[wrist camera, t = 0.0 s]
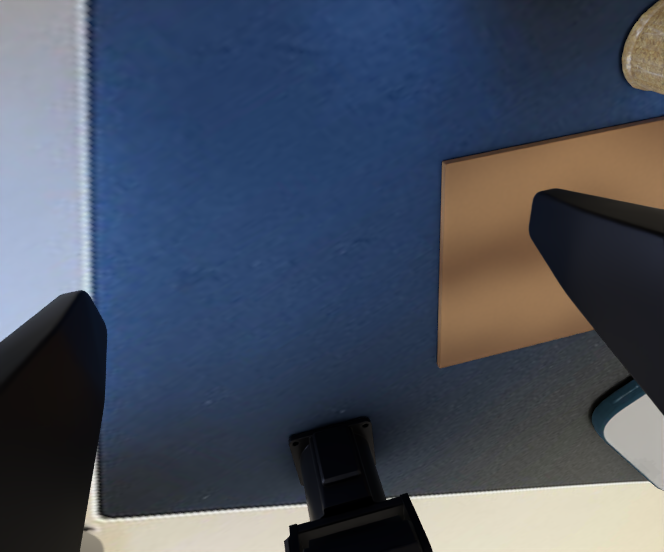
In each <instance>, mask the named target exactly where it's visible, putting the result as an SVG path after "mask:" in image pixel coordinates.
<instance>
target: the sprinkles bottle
mask: <svg viewBox="0 0 664 552" xmlns="http://www.w3.org/2000/svg"><path fill="white" fill-rule="evenodd" d="M622 69H623V73H624V75H625V78H626V79H627V81H628V83H630V84H631V86H632V87H634V88H638V89H641V90H646V91H654V92H657V93H660V94H663V95H664V0H660V1H658V2H656V3H655V4H654V5H653V6H652V7H651V8H649V9H648V10H647V12H645V13H644V14H643V15H642V16H641V17H640V19H639V20H638V22H636V23H635V25H634V27H633V28H632V30H631V32H630V33H629V36H628V38H627V40H626V43H625V46H624V51H623V54H622Z"/></svg>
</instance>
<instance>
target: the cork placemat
mask: <svg viewBox="0 0 664 552" xmlns="http://www.w3.org/2000/svg"><path fill="white" fill-rule="evenodd" d="M553 188H559V189H564V190H569V191H574V192H579V193H584V194H589V195H594V196H599V197H604V198H609V199H614V200H619V201H624V202H629V203H634V204H639V205H644V206H649V207H654V208H659V209H664V116H662V117H657V118H652V119H647V120H643V121H638V122H633V123H628V124H623V125H618V126H613V127H608V128H603V129H598V130H594V131H589V132H584V133H579V134H574V135H569V136H564V137H559V138H554V139H549V140H544V141H540V142H535V143H530V144H525V145H520V146H515V147H510V148H505V149H500V150H495V151H490V152H486V153H481V154H476V155H471V156H466V157H461V158H456V159H451V160H446V161H442V187H441V229H440V271H439V312H438V354H437V364H438V366H439V368H444V367H448V366H452V365H456V364H460V363H464V362H467V361H471V360H475V359H479V358H483V357H487V356H491V355H495V354H499V353H503V352H507V351H511V350H515V349H519V348H523V347H527V346H531V345H535V344H539V343H543V342H547V341H551V340H555V339H559V338H563V337H567V336H571V335H575V334H579V333H583V332H587V331H591V330H594V328H593V327H592V326H591V325H590V323H589V322H588V321H587V320H586V318H585V317H584V316H583V315H582V313H581V312H580V311H579V310H578V308H577V307H576V306H575V305H574V303H573V302H572V301H571V299H570V298H569V297H568V295H567V294H566V293H565V291H564V290H563V288H562V287H561V286H560V284H559V283H558V281H557V279H556V278H555V276H554V275H553V273H552V271H551V270H550V268H549V267H548V265H547V263H546V262H545V260H544V259H543V257H542V255H541V254H540V252H539V251H538V249H537V248H536V246H535V244H534V243H533V241H532V240H531V238H530V235H529V221H530V214H531V208H532V201H533V198H534V196H535V194H536V193H537V192H539V191H543V190H548V189H553Z"/></svg>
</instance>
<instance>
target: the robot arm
mask: <svg viewBox="0 0 664 552" xmlns="http://www.w3.org/2000/svg"><path fill="white" fill-rule="evenodd" d="M529 235H530V238H531V240H532V241H533V243H534V244H535V246H536V248H537V249H538V251H539V252H540V254H541V255H542V257H543V259H544V260H545V262H546V263H547V265H548V267H549V268H550V270H551V271H552V273H553V275H554V276H555V278H556V279H557V281H558V283H559V284H560V286H561V287H562V288H563V290H564V291H565V293H566V294H567V295H568V297H569V298H570V299H571V301H572V302H573V303H574V305H575V306H576V307H577V308H578V310H579V311H580V312H581V313H582V315H583V316H584V317H585V318H586V320H587V321H588V322H589V323H590V325H591V326H592V327H593V328H594V330H595V331H596V332H597V333H598V335H599V336H600V337H601V338H602V340H603V341H604V342H605V343H606V345H607V346H608V347H609V348H610V349H611V351H612V352H613V353H614V354H615V356H616V357H617V358H618V359H619V361H620V362H621V363H622V364H623V366H624V367H625V368H626V369H627V371H628V372H629V373H630V374H631V376H632V377H633V378H634V379H635V381H636V382H637V383H638V384H639V386H640V387H641V388H642V389H643V391H644V392H645V393H646V394H647V396H648V397H649V398H650V399H651V401H652V402H653V403H654V404H655V406H656V407H657V408H658V409H659V411H660V412H661V413H662V414H663V416H664V209H659V208H654V207H649V206H644V205H639V204H634V203H629V202H624V201H619V200H614V199H609V198H604V197H599V196H594V195H589V194H584V193H579V192H574V191H569V190H564V189H559V188H553V189H548V190H543V191H539V192H537V193H536V194H535V196H534V198H533V201H532V208H531V214H530V221H529ZM106 353H107V329H106V325H105V323H104V321H103V319H102V317H101V315H100V314H99V312H98V310H97V308H96V306H95V304H94V303H93V301H92V299H91V297H90V296H89V294H88V293H87V292H85V291H83V290H80V291H75V292H70V293H65V294H62V295H60V296H58V297H57V298H56V299H54V300H53V301H52V302H51V303H49V304H48V305H47V306H46V307H44V308H43V309H42V310H41V311H39V312H38V313H37V314H36V315H34V316H33V317H32V318H30V319H29V320H28V321H27V322H25V323H24V324H23V325H22V326H20V327H19V328H18V329H17V330H15V331H14V332H13V333H12V334H10V335H9V336H8V337H6V338H5V339H4V340H3V341H1V342H0V552H80V546H81V540H82V534H83V529H84V523H85V517H86V511H87V505H88V499H89V493H90V487H91V481H92V475H93V469H94V463H95V457H96V451H97V446H98V440H99V434H100V428H101V422H102V416H103V409H104V400H105V381H106ZM289 446H290V449H291V453H292V456H293V459H294V463H295V466H296V470H297V473H298V476H299V480H300V483H301V485H303V486H304V489H305V494H306V500H307V506H308V512H309V517H310V522H306V523H303V524H299V525H297V524H294V525H290V526H289V529H290V536H289V537H288V538H287V539H286V540H285V541H284V544H285V552H433V551H432V548H431V545H430V543H429V540H428V538H427V536H426V533H425V531H424V529H423V527H422V525H421V522H420V520H419V518H418V516H417V513H416V511H415V509H414V507H413V504H412V502H411V500H410V498H409V495H408V493H405V494H402V495H400V497H396V498H392V499H389V500H386V497H385V494H384V491H383V488H382V485H381V482H380V479H379V475H378V472H377V469H376V466H375V465H376V461H375V452H374V443H373V434H372V425H371V422H370V419H369V418H367V417H364V418H360V419H356V420H352V421H348V422H344V423H340V424H337V425H333V426H329V427H325V428H321V429H317V430H313V431H309V432H306V433H302V434H298V435H294V436H292V437H290V438H289Z"/></svg>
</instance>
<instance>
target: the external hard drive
mask: <svg viewBox="0 0 664 552" xmlns="http://www.w3.org/2000/svg"><path fill="white" fill-rule="evenodd" d="M592 424H593V427H594V429H595V430H596V432H597V433H598V434H599V436H600V437H601V438H602V439H603V440H604V441H605V442H606V443H607V444H608V445H609V446H611V447H612V448H613V449H614V450H615V451H616V452H617V453H618V454H620V455H621V456H622V457H623V458H624V459H625V460H626V461H627V462H628V463H630V464H631V465H632V466H633V467H634V468H635V469H636V470H637V471H638V472H640V473H641V474H642V475H643V476H644V477H645V478H646V479H647V480H649V481H650V482H651V483H652V484H653V485H654V486H656V487H657V488H658V489H661V490H664V416H663V414H662V413H661V412H660V411H659V409H658V408H657V407H656V406H655V404H654V403H653V402H652V401H651V399H650V398H649V397H648V396H647V394H646V393H645V392H644V391H643V389H642V388H641V387H640V386H639V384H638V383H637V382H636V381H635V379H633V380H632V381H630V382H629V383H627V384H626V385H624V386H623V387H621V388H620V389H618V390H617V391H615V392H614V393H612V394H611V395H610V396H608V397H607V398H606V399H604V400H603V401H602V402H601V403H600V404H599V405H598V406H597V407H596V409H595V410H594V412H593V414H592Z"/></svg>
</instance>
